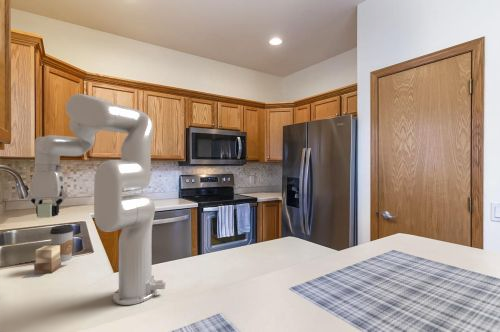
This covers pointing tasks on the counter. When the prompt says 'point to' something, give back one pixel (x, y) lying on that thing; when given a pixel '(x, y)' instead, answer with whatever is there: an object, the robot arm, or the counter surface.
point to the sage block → (45, 210)
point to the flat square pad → (36, 274)
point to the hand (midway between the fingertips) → (47, 215)
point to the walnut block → (47, 267)
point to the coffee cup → (63, 240)
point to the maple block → (48, 254)
